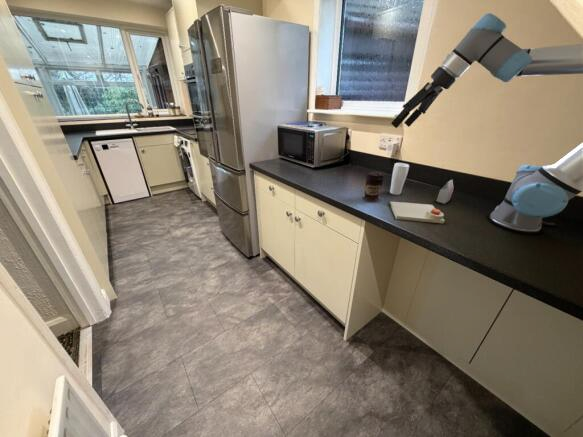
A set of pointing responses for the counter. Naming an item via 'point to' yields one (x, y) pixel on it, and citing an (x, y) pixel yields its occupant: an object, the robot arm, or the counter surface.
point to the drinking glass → (398, 178)
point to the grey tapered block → (446, 192)
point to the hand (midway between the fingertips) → (400, 125)
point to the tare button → (435, 211)
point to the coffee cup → (373, 185)
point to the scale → (415, 212)
